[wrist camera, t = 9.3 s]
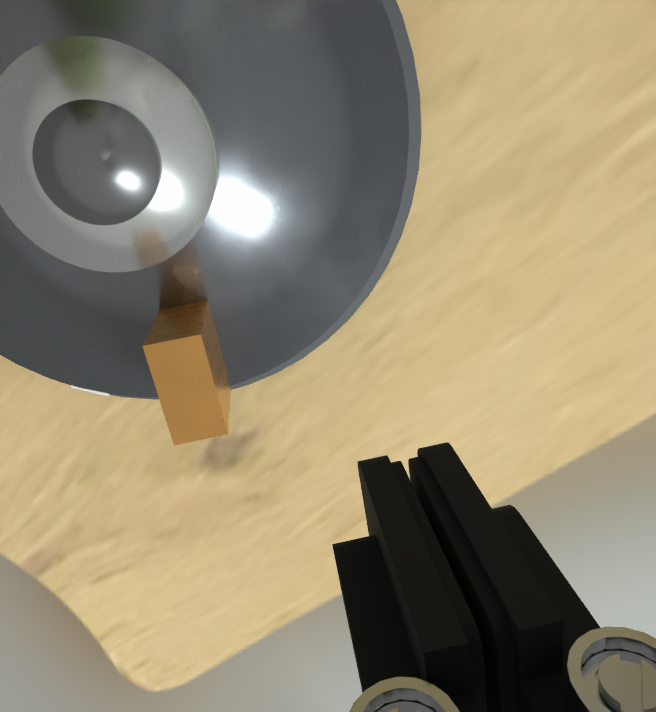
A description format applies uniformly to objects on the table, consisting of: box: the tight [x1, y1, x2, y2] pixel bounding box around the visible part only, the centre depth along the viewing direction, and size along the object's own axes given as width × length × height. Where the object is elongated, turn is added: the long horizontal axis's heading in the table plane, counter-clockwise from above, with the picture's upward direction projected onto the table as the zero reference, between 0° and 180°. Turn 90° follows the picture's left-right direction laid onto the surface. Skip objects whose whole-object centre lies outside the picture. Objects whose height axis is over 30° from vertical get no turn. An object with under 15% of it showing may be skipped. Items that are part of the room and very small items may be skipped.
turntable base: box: [59, 0, 421, 399], centre depth 22 cm, size 22×22×1 cm
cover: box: [0, 36, 220, 272], centre depth 19 cm, size 7×7×4 cm
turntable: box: [0, 0, 409, 445], centre depth 19 cm, size 20×20×6 cm
